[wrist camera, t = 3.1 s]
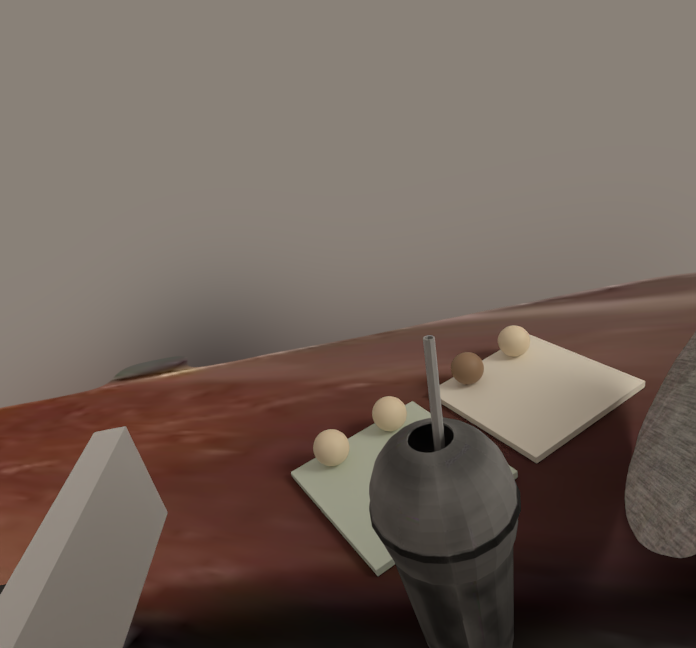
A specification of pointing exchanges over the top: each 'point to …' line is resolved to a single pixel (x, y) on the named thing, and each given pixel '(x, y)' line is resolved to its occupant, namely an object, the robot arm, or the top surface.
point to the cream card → (534, 392)
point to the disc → (667, 465)
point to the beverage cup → (449, 524)
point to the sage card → (356, 476)
